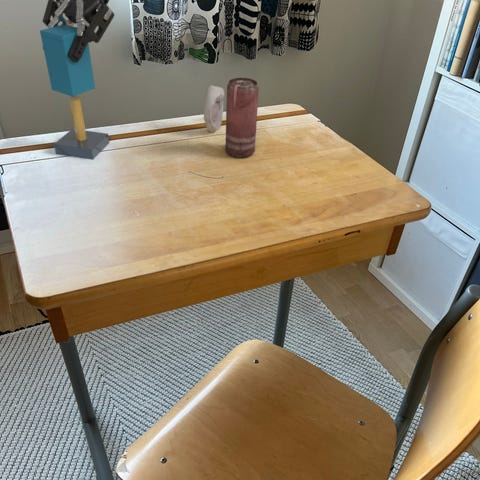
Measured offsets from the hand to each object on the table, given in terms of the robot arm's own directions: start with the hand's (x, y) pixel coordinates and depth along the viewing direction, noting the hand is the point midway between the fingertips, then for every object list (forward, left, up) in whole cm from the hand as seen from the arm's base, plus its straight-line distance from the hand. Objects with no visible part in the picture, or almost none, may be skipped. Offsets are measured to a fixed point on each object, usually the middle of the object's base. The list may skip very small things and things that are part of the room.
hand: (59, 55), depth 91 cm
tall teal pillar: (+1, +2, -6) cm, 6 cm away
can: (+32, +10, -18) cm, 38 cm away
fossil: (+24, +18, -18) cm, 35 cm away
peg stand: (+1, +2, -18) cm, 18 cm away
